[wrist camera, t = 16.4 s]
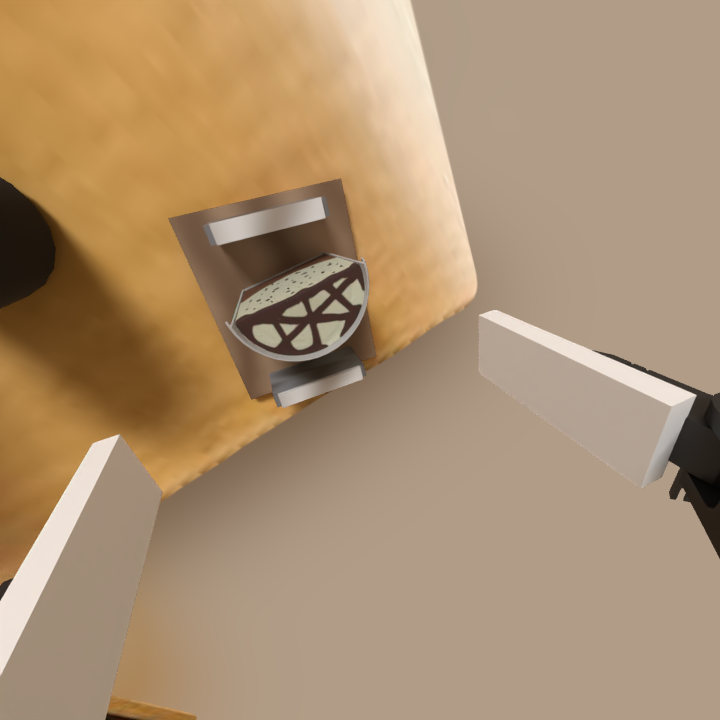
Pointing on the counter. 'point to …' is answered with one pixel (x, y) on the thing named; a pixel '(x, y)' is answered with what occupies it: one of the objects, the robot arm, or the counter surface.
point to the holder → (265, 259)
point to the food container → (303, 308)
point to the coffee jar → (22, 246)
